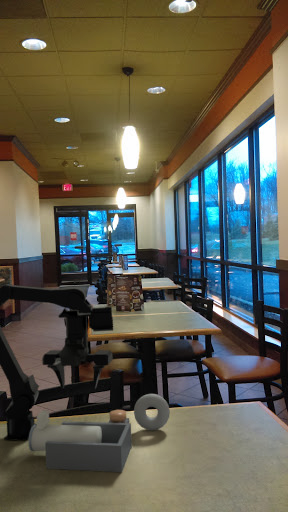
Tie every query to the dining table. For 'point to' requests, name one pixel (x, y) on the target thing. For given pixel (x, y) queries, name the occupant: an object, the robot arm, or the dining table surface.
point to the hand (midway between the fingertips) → (78, 388)
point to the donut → (147, 421)
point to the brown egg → (117, 416)
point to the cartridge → (60, 433)
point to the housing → (92, 449)
